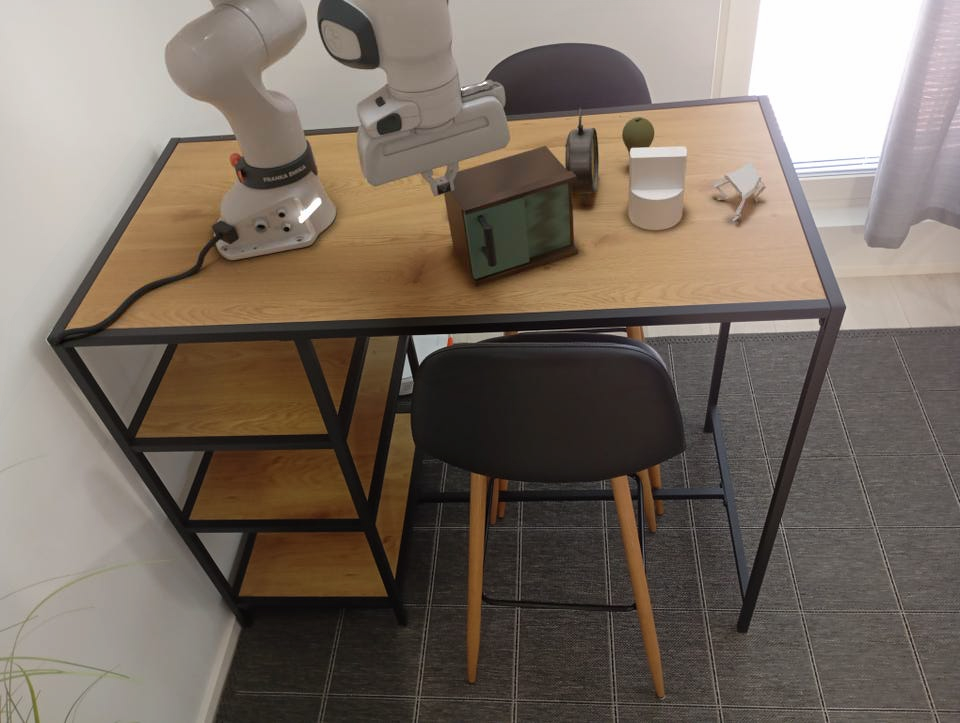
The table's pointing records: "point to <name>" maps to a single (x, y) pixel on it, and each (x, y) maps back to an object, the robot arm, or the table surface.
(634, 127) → the olive green rounded piece
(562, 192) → the brown wooden cabinet
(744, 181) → the white flat-topped legged piece
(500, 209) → the green sliding door
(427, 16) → the robot arm
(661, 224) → the base with upright slab
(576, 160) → the alarm clock
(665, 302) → the table surface
